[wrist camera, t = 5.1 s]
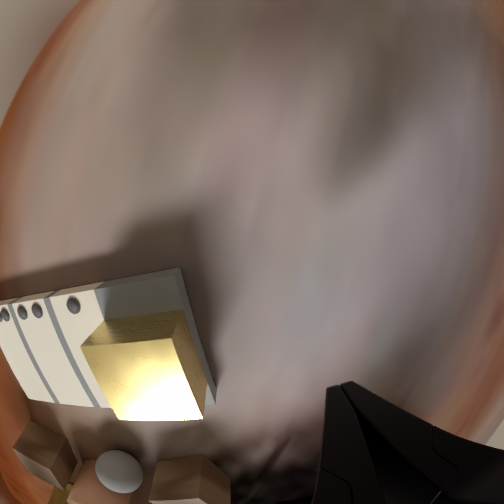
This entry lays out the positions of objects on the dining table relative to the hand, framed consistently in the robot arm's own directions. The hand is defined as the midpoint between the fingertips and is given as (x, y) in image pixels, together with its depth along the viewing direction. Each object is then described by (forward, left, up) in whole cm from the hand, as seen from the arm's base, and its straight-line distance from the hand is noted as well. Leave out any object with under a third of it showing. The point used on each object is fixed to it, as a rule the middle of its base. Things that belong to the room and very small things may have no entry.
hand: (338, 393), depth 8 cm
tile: (+7, 0, -4) cm, 8 cm away
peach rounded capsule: (+18, +14, -6) cm, 23 cm away
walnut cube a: (+9, +12, -6) cm, 16 cm away
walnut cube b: (+22, +10, -6) cm, 25 cm away
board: (+12, 0, -6) cm, 13 cm away
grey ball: (+14, +10, -6) cm, 18 cm away
